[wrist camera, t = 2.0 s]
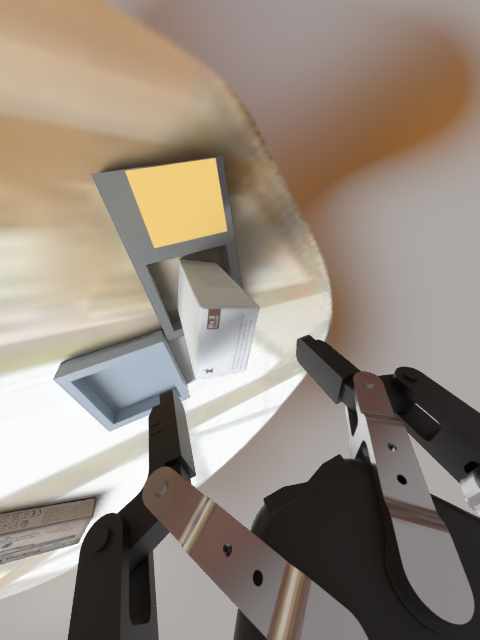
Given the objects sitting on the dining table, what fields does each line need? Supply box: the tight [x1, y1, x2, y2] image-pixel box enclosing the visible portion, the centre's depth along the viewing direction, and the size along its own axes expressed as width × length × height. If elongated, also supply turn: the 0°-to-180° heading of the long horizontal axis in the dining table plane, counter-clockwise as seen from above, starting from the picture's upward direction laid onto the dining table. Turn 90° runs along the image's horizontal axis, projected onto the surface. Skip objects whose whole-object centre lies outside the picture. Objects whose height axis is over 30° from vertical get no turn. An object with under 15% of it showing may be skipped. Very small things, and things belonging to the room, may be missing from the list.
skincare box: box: [178, 259, 260, 379], centre depth 19 cm, size 6×4×12 cm
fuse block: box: [91, 155, 242, 341], centre depth 19 cm, size 16×10×8 cm, turn 8°
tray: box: [53, 330, 190, 431], centre depth 26 cm, size 11×11×2 cm
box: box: [0, 498, 96, 564], centre depth 33 cm, size 11×17×3 cm, turn 57°
